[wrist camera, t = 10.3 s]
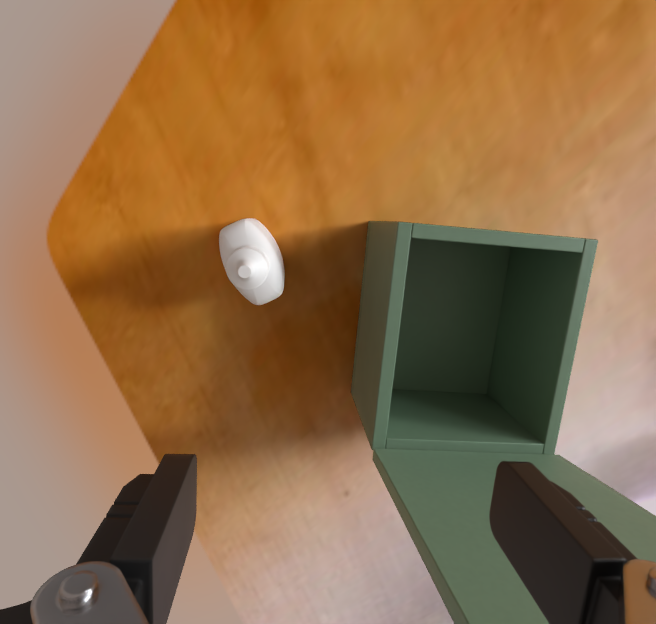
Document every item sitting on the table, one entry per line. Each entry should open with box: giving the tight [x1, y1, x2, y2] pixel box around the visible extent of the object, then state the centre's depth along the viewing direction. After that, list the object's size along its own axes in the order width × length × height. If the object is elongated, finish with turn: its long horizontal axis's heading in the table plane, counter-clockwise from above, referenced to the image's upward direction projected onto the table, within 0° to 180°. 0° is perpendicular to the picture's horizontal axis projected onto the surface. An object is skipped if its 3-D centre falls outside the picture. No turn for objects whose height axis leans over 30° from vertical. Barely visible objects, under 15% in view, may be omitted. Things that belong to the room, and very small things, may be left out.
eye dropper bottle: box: [219, 218, 285, 305], centre depth 30 cm, size 4×6×12 cm
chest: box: [351, 221, 598, 455], centre depth 33 cm, size 15×13×10 cm
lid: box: [373, 448, 656, 624], centre depth 22 cm, size 16×13×5 cm
